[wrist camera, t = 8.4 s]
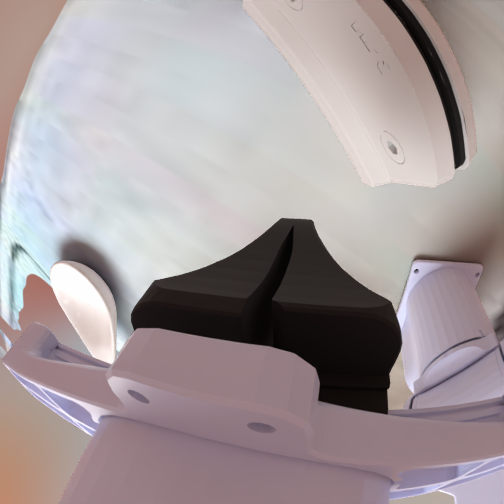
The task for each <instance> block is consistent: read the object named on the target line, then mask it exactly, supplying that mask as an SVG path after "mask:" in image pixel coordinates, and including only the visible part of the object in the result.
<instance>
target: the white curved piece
mask: <svg viewBox="0 0 504 504" xmlns="http://www.w3.org/2000/svg"><path fill="white" fill-rule="evenodd" d="M242 8H243V9H244V10H245V11H246V13H247V14H248V15H249V16H250V17H251V18H252V19H253V20H254V22H255V23H256V24H257V25H258V26H259V27H260V29H261V30H262V31H263V32H264V33H265V34H266V36H267V37H268V38H269V39H270V41H271V42H272V43H273V44H274V46H275V47H276V48H277V49H278V51H279V52H280V53H281V54H282V56H283V57H284V58H285V60H286V61H287V62H288V64H289V65H290V66H291V68H292V69H293V70H294V72H295V73H296V75H297V76H298V77H299V79H300V80H301V82H302V83H303V85H304V86H305V87H306V89H307V90H308V92H309V93H310V95H311V96H312V98H313V99H314V101H315V102H316V104H317V105H318V107H319V108H320V110H321V111H322V113H323V115H324V116H325V118H326V119H327V121H328V123H329V124H330V126H331V128H332V129H333V131H334V133H335V134H336V136H337V138H338V139H339V141H340V143H341V144H342V146H343V148H344V150H345V151H346V153H347V155H348V157H349V159H350V160H351V162H352V164H353V166H354V168H355V170H356V172H357V173H358V175H359V177H360V179H361V181H362V183H363V184H366V185H368V186H371V187H375V186H379V185H383V184H387V183H401V184H409V185H417V186H425V187H432V188H434V187H436V186H438V185H441V184H443V183H445V182H447V181H450V180H451V179H452V178H453V176H454V172H455V170H464V169H466V168H467V166H468V165H469V163H470V162H471V161H472V159H473V158H474V156H475V154H476V151H477V142H476V129H475V122H474V116H473V110H472V105H471V101H470V97H469V94H468V90H467V87H466V84H465V81H464V78H463V75H462V72H461V69H460V67H459V64H458V62H457V60H456V58H455V56H454V53H453V51H452V49H451V47H450V45H449V43H448V42H447V40H446V38H445V36H444V34H443V33H442V31H441V29H440V27H439V26H438V24H437V23H436V21H435V20H434V18H433V17H432V16H431V14H430V13H429V11H428V10H427V9H426V7H425V6H424V5H423V3H422V2H421V1H420V0H243V4H242Z"/></svg>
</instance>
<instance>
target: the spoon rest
mask: <svg viewBox="0 0 504 504" xmlns="http://www.w3.org/2000/svg"><path fill="white" fill-rule="evenodd" d="M50 279H51V285H52V288H53V290H54V293H55V295H56V298H57V300H58V302H59V304H60V305H61V307H62V309H63V310H64V312H65V314H66V315H67V317H68V319H69V320H70V322H71V323H72V325H73V326H74V328H75V329H76V331H77V333H78V334H79V336H80V337H81V339H82V341H83V342H84V344H85V345H86V347H87V348H88V350H89V351H90V353H91V354H92V356H93V357H94V358H96V359H99V360H102V361H104V362H107V363H110V364H112V363H113V361H114V360H115V358H116V334H117V311H116V305H115V301H114V298H113V295H112V293H111V291H110V289H109V287H108V286H107V284H106V283H105V282H104V281H103V279H102V278H101V277H100V276H99V275H98V274H97V273H96V272H95V271H93V270H92V269H90V268H89V267H87V266H85V265H83V264H81V263H78V262H74V261H58V262H56V263H55V264H54V265H53V266H52V268H51V271H50Z"/></svg>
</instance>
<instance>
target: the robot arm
mask: <svg viewBox="0 0 504 504" xmlns="http://www.w3.org/2000/svg"><path fill="white" fill-rule="evenodd" d="M415 269H418V270H417V271H414V270H415ZM482 271H483V266H482V265H481V264H477V263H462V262H448V261H434V260H419V259H418V260H415V261H414V262H413V263H412V266H411V270H410V273H409V277H408V280H407V284H406V287H405V290H404V293H403V296H402V299H401V302H400V305H399V308H398V311H397V314H396V313H395V310H394V308H393V305H392V303H391V301H389V300H388V299H386V298H384V297H382V296H380V295H378V294H376V293H374V292H373V291H371V290H369V289H368V288H366V287H365V286H363V285H362V284H360V283H359V282H357V281H356V280H355V279H354V278H352V277H351V276H350V275H349V274H348V273H347V272H345V271H344V270H343V269H342V268H341V267H340V266H339V265H338V264H337V263H336V261H335V260H334V259H333V258H332V256H331V255H330V254H329V252H328V251H327V249H326V248H325V246H324V245H323V243H322V241H321V239H320V238H319V236H318V234H317V231H316V229H315V226H314V222H313V221H312V220H307V219H287V218H281V219H280V220H279V221H277V222H276V223H275V224H274V225H273V226H272V227H271V228H269V229H268V230H267V231H266V232H265V233H264V234H262V235H261V236H260V237H259V238H257V239H256V240H254V241H253V242H252V243H250V244H249V245H248V246H246V247H245V248H243V249H241V250H240V251H238V252H236V253H235V254H233V255H231V256H229V257H227V258H225V259H223V260H221V261H218V262H216V263H214V264H211V265H209V266H207V267H204V268H201V269H198V270H195V271H192V272H189V273H185V274H182V275H178V276H173V277H169V278H164V279H160V280H155V281H154V282H153V283H152V284H151V286H150V287H149V288H148V290H147V291H146V292H145V294H144V295H143V296H142V298H141V299H140V300H139V302H138V303H137V304H136V306H135V307H134V309H133V311H132V313H131V323H132V326H133V328H134V332H133V333H132V334H131V336H130V337H129V338H128V340H127V341H126V343H125V344H124V346H123V347H122V349H121V350H120V352H119V354H118V355H117V357H116V358H115V360H114V361H113V363H112V364H110V363H107V362H104V361H102V360H99V359H96V358H94V357H91V356H89V355H86V354H84V353H81V352H79V351H77V350H74V349H72V348H69V347H67V346H65V345H63V344H61V343H59V341H58V339H57V337H56V336H55V335H54V333H53V332H52V331H51V330H50V329H49V328H47V327H46V326H44V325H41V324H39V323H37V322H35V321H33V322H32V323H31V324H30V325H29V327H28V328H27V329H26V330H25V331H24V332H23V334H22V335H21V336H20V337H19V339H18V340H17V341H16V342H15V344H14V345H13V346H12V347H11V349H10V350H9V351H8V352H7V354H6V355H5V356H4V358H3V359H2V362H3V364H4V365H5V366H6V367H7V368H8V369H9V371H10V372H11V373H12V374H13V375H14V376H15V377H16V378H17V379H18V381H19V382H20V383H21V384H22V385H23V386H24V387H25V388H26V389H27V390H28V391H29V392H30V393H31V394H32V395H33V396H34V397H35V398H36V399H38V400H39V401H40V402H42V403H43V404H45V405H46V406H47V407H49V408H50V409H52V410H53V411H54V412H56V413H57V414H59V415H60V416H62V417H63V418H64V419H66V420H67V421H69V422H70V423H72V424H73V425H75V426H77V427H78V428H80V429H81V430H83V431H84V432H86V433H88V434H89V435H91V436H92V438H91V440H90V442H89V443H88V445H87V447H86V449H85V451H84V453H83V455H82V457H81V459H80V461H79V462H78V465H77V466H76V468H75V471H74V473H73V474H72V476H71V479H70V480H69V482H68V484H67V487H66V489H65V491H64V493H63V495H62V497H61V499H60V501H59V503H58V504H389V500H393V499H399V498H405V497H411V496H416V495H421V494H426V493H430V492H434V491H441V492H444V493H447V494H450V495H452V496H454V498H455V504H504V339H503V340H502V341H501V342H500V343H499V341H498V339H497V337H496V334H495V332H494V330H493V327H492V325H491V323H490V320H489V318H488V316H487V314H486V311H485V309H484V307H483V305H482V303H481V301H480V299H479V297H478V295H477V293H476V291H475V288H476V286H477V284H478V281H479V279H480V276H481V274H482ZM476 273H477V274H476ZM400 351H401V352H402V359H403V366H404V374H405V380H406V383H407V385H408V387H409V388H410V390H411V391H412V392H413V393H414V395H412V396H410V397H409V398H408V399H407V400H406V402H405V404H404V407H403V409H401V410H388V397H387V389H389V387H390V376H389V373H390V371H391V369H392V367H393V365H394V363H395V361H396V359H397V357H398V355H399V353H400Z"/></svg>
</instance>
